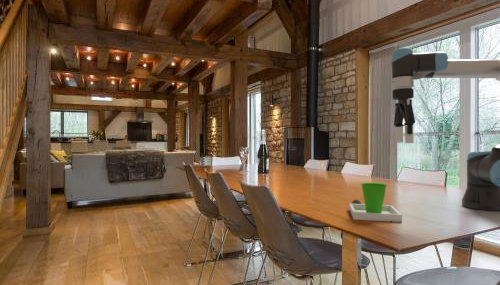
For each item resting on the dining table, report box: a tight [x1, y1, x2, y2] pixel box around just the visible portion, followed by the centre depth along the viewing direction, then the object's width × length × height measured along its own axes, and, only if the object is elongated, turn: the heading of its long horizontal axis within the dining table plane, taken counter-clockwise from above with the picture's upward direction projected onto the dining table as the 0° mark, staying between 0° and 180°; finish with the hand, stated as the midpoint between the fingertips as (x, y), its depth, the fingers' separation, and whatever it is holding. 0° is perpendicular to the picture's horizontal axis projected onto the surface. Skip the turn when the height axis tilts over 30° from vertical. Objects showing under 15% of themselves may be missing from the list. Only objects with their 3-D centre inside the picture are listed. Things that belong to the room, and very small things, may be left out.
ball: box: [351, 199, 362, 204], centre depth 133 cm, size 4×4×4 cm
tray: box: [348, 203, 403, 223], centre depth 121 cm, size 16×16×2 cm
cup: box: [360, 182, 388, 213], centre depth 121 cm, size 9×9×11 cm
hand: (404, 143), depth 128 cm, fingers open, 13 cm apart
